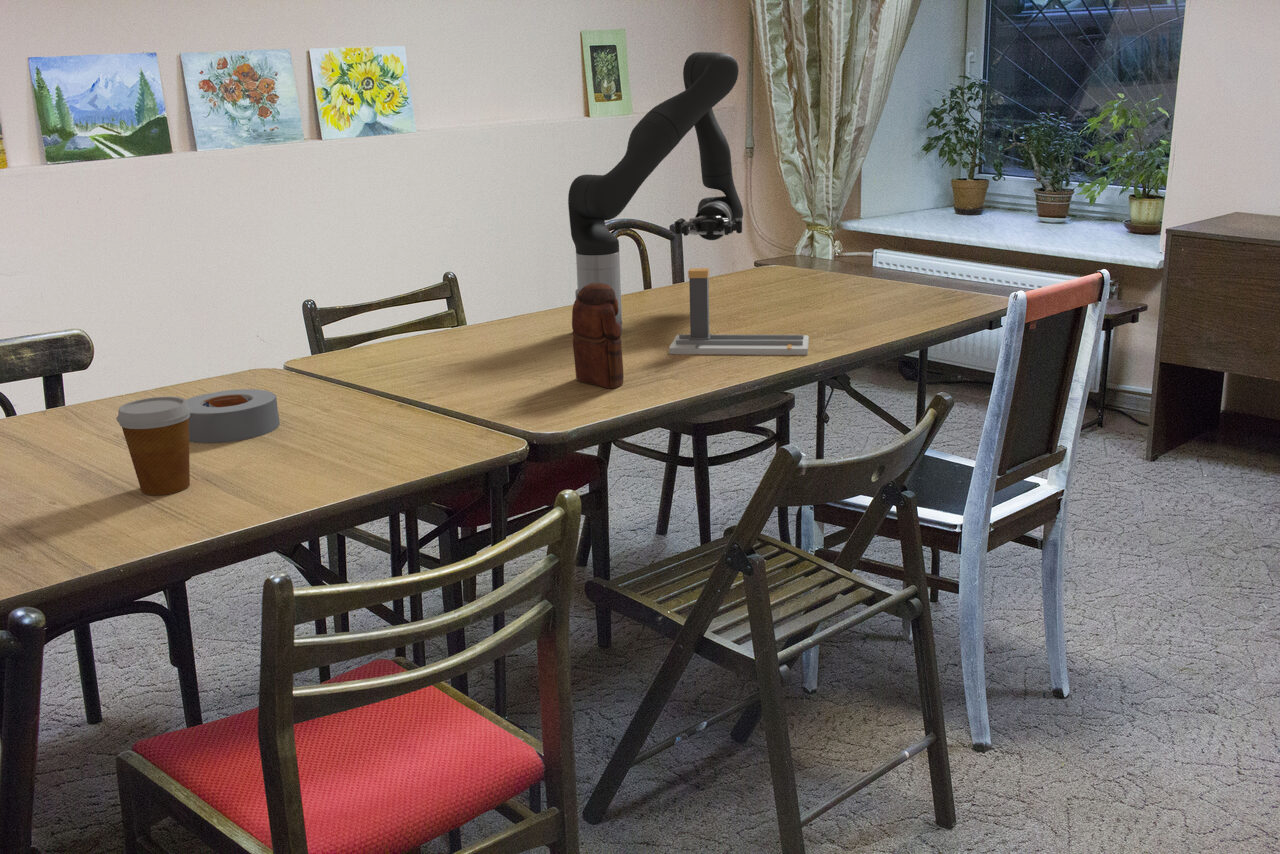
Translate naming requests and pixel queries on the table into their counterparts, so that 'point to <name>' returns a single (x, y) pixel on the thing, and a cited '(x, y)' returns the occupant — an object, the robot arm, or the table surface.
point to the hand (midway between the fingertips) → (705, 230)
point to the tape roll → (232, 415)
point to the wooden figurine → (597, 336)
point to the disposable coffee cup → (158, 442)
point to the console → (742, 345)
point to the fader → (699, 303)
